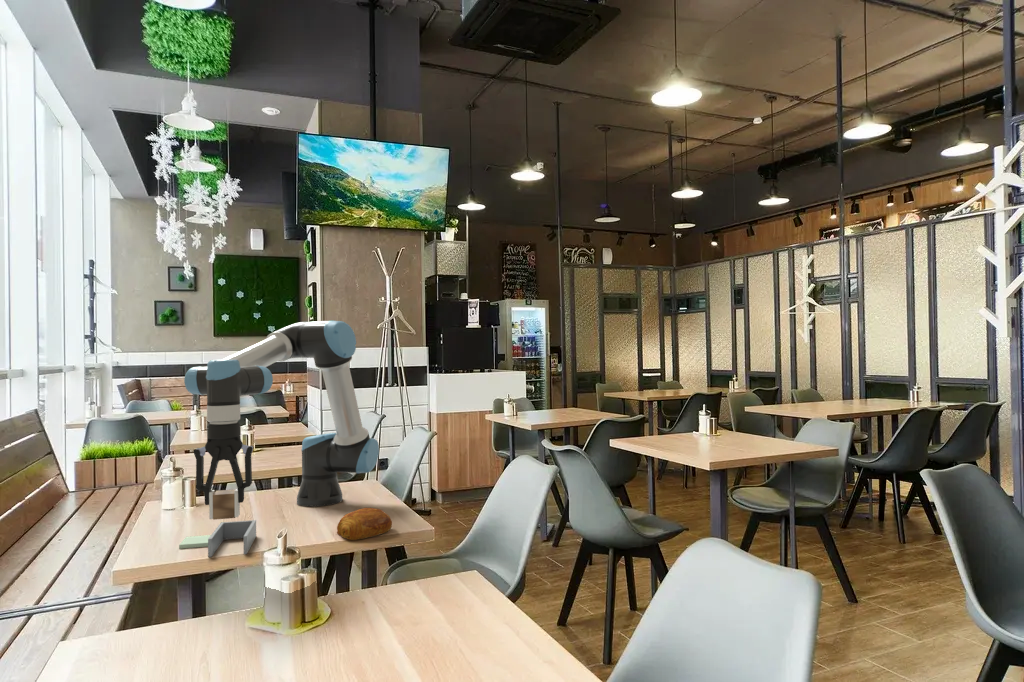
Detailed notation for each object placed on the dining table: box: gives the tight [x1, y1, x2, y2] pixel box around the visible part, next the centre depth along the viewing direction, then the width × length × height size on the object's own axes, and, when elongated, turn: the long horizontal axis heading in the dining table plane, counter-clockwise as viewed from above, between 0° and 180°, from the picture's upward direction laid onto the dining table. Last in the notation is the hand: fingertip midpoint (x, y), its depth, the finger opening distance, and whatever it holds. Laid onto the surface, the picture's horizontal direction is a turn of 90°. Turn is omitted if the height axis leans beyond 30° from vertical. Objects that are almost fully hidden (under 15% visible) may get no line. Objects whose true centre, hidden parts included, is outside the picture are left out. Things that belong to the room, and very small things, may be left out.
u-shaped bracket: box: [207, 519, 257, 558], centre depth 172 cm, size 9×17×4 cm, turn 14°
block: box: [212, 488, 237, 520], centre depth 161 cm, size 5×5×6 cm
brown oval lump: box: [336, 507, 393, 541], centre depth 184 cm, size 14×16×8 cm
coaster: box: [178, 534, 212, 550], centre depth 175 cm, size 8×8×1 cm
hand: (224, 516), depth 159 cm, fingers closed on block, 5 cm apart
